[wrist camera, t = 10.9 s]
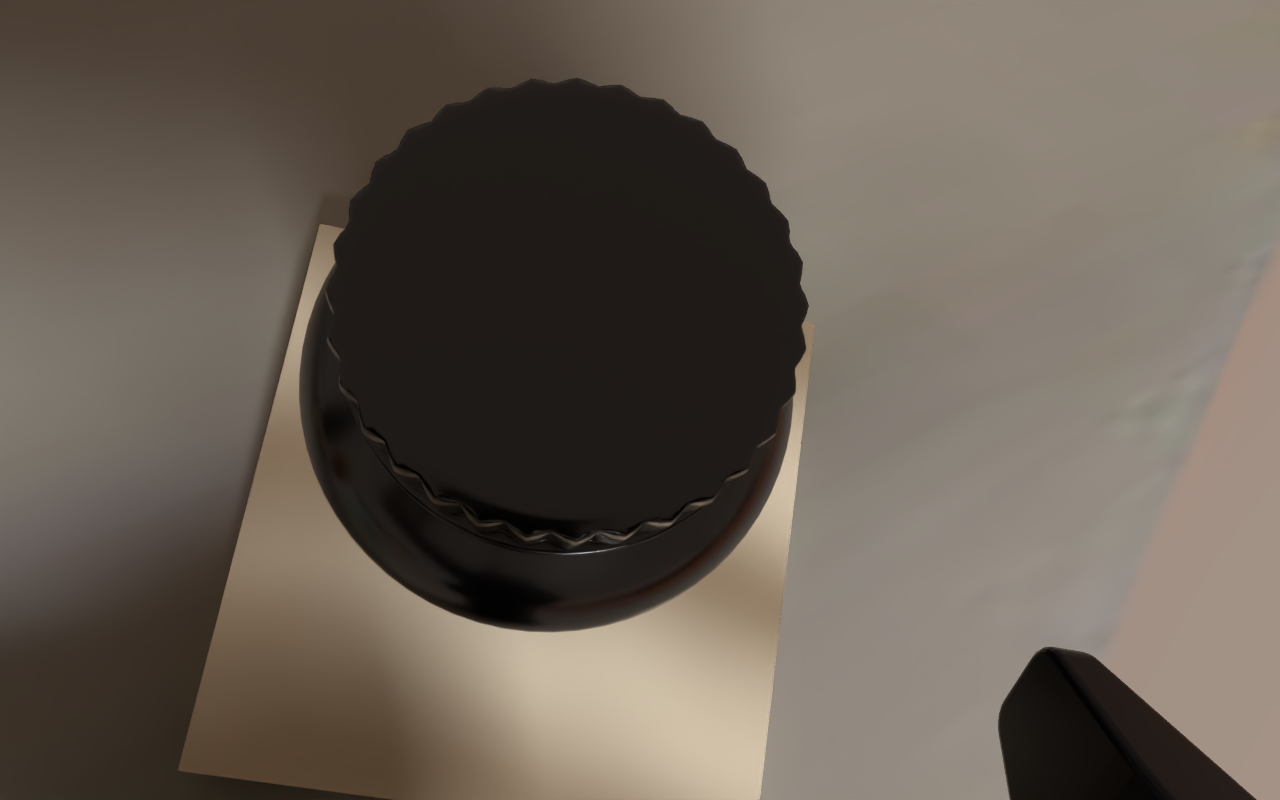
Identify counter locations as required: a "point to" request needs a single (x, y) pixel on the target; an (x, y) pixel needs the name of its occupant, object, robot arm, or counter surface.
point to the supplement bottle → (554, 357)
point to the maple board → (475, 659)
